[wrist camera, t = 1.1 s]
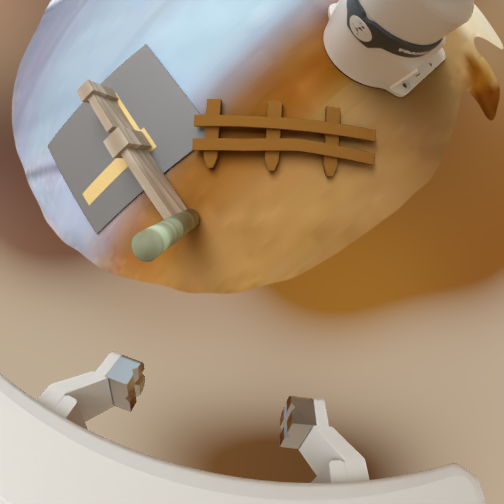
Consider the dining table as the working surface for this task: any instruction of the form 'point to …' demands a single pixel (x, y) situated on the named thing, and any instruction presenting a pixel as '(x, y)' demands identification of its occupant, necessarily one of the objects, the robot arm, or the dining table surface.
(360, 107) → the dining table surface
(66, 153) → the board
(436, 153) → the dining table surface
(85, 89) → the fixed fence section
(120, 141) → the swinging fence section
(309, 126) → the decorative fence
